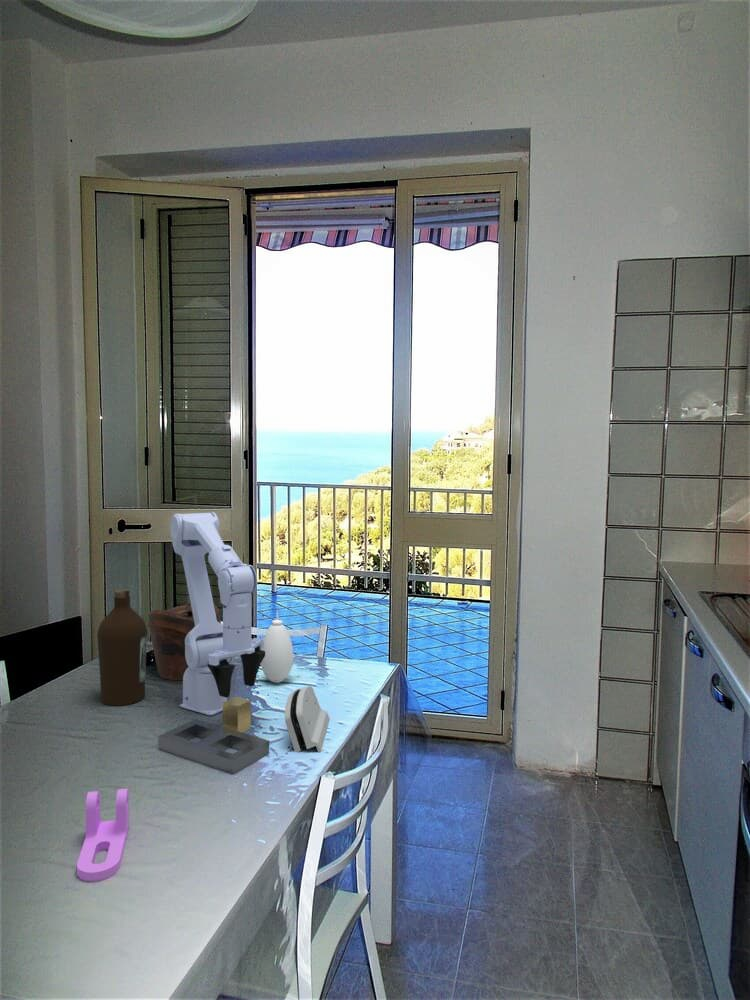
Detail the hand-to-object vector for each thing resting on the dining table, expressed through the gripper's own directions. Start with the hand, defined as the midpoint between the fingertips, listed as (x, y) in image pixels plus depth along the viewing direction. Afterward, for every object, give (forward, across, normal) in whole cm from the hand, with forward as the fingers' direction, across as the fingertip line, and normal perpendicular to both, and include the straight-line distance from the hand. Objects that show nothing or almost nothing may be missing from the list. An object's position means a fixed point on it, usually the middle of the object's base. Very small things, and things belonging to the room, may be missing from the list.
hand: (237, 690), depth 143 cm
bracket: (+9, -43, -13) cm, 46 cm away
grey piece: (+9, +6, -13) cm, 17 cm away
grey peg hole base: (+8, -10, -3) cm, 13 cm away
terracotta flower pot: (+8, +20, +35) cm, 41 cm away
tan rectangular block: (+8, 0, 0) cm, 8 cm away
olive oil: (+8, -1, +33) cm, 34 cm away
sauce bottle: (+8, +27, +11) cm, 30 cm away
